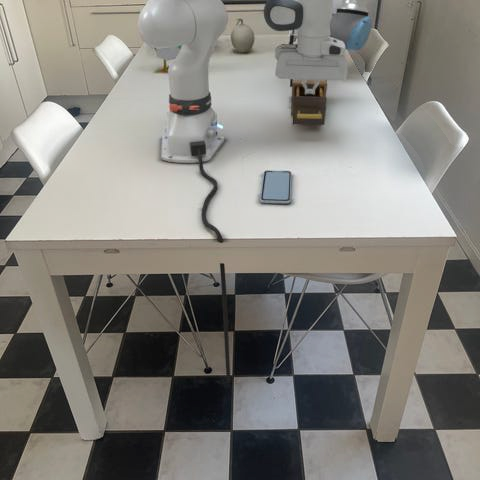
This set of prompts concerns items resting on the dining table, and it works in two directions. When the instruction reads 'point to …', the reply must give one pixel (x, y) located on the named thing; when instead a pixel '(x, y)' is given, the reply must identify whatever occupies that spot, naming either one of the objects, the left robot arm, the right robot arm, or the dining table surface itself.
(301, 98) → the drawer
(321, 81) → the open wooden box
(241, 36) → the fruit
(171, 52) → the toy
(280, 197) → the smartphone
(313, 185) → the dining table surface
